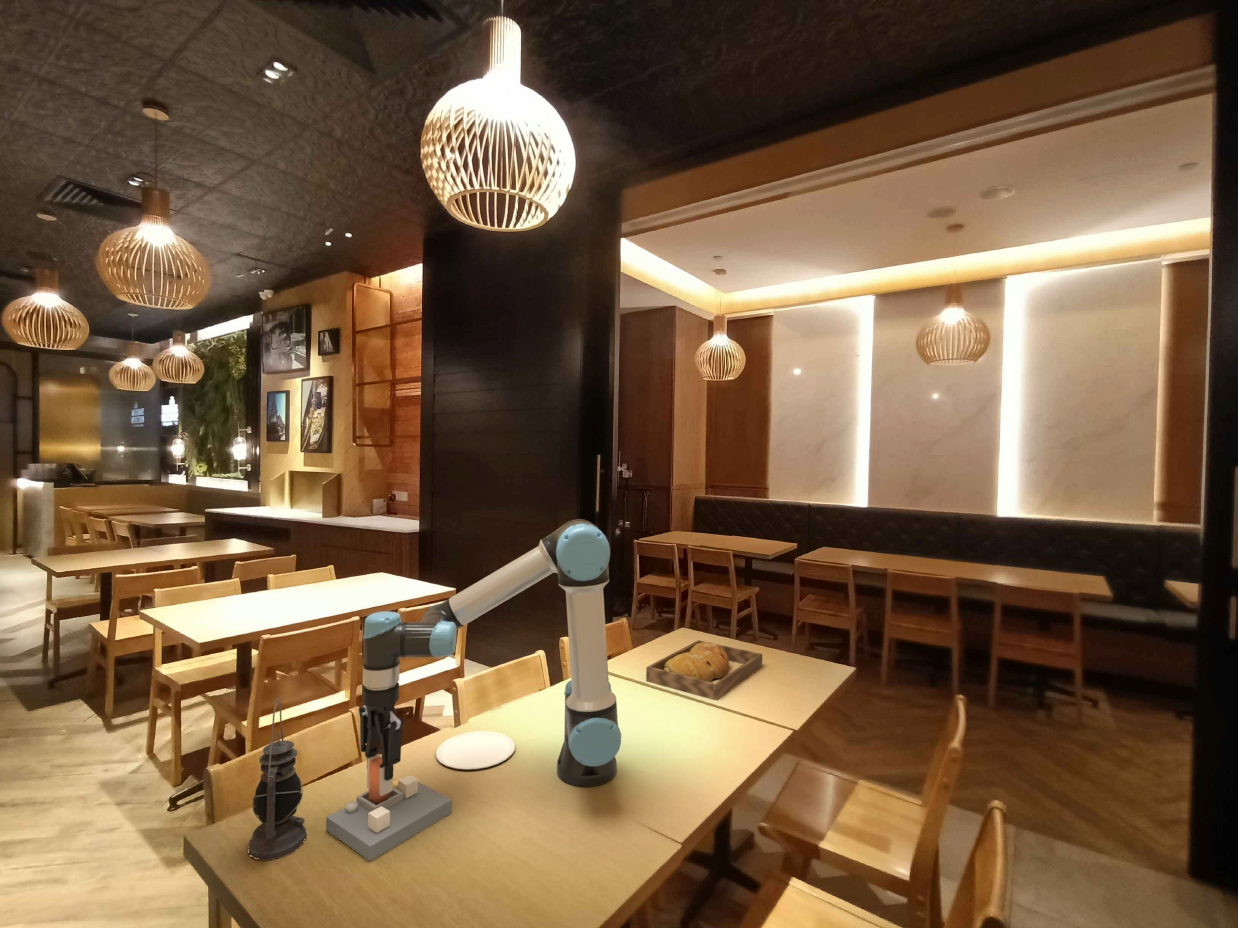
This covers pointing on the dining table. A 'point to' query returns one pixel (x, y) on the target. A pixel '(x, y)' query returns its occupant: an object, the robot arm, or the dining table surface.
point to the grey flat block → (404, 819)
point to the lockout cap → (375, 781)
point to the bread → (700, 662)
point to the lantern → (277, 802)
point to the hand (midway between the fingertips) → (379, 788)
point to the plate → (475, 750)
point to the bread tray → (701, 687)
